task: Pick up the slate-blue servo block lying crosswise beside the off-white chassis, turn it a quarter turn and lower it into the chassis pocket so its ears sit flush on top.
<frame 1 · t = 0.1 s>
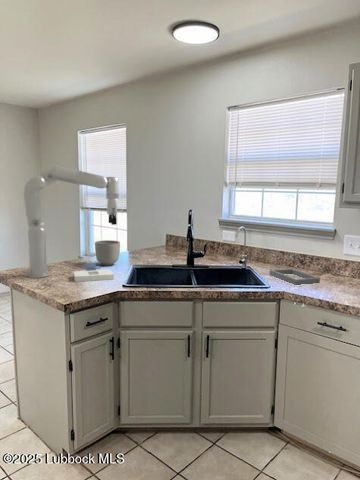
hand: (112, 223, 231), 31 cm above the worktop, fingers open, 9 cm apart
servo block: (90, 273, 230), on the worktop
planter: (107, 264, 256), on the worktop
chassis: (93, 277, 219), on the worktop
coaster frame: (293, 280, 225), on the worktop
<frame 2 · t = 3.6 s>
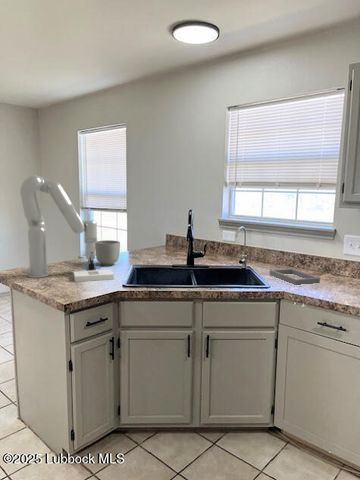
hand: (91, 268, 230), 3 cm above the worktop, fingers closed on servo block, 4 cm apart
servo block: (91, 273, 230), on the worktop, touching gripper
everything else where it was.
when the fingers open (4 cm above the worktop, at t = 9.1 s): servo block drops 1 cm, resting on chassis.
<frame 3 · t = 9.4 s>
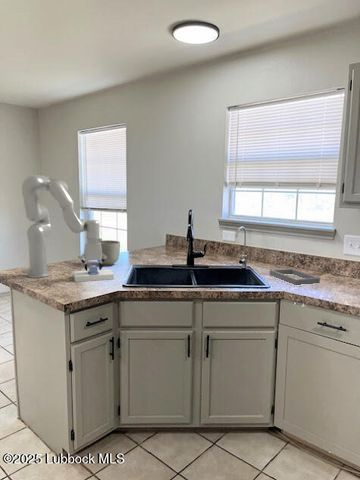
hand: (93, 269, 218), 5 cm above the worktop, fingers open, 7 cm apart
servo block: (93, 277, 219), resting on chassis
everything else where it was.
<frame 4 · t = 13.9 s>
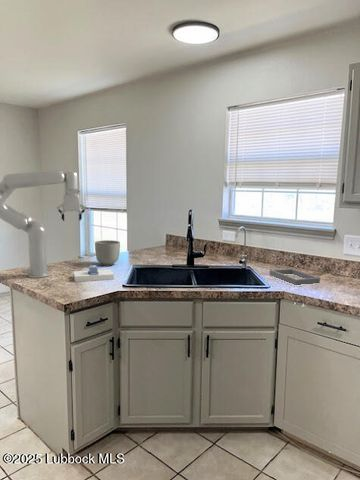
hand: (71, 220, 223), 33 cm above the worktop, fingers open, 9 cm apart
nothing on the worktop moved.
at the end: servo block 0.0 cm off-centre on the chassis, point 0.0 cm above the chassis's base; servo block tilted 0°; the gripper is holding nothing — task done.
